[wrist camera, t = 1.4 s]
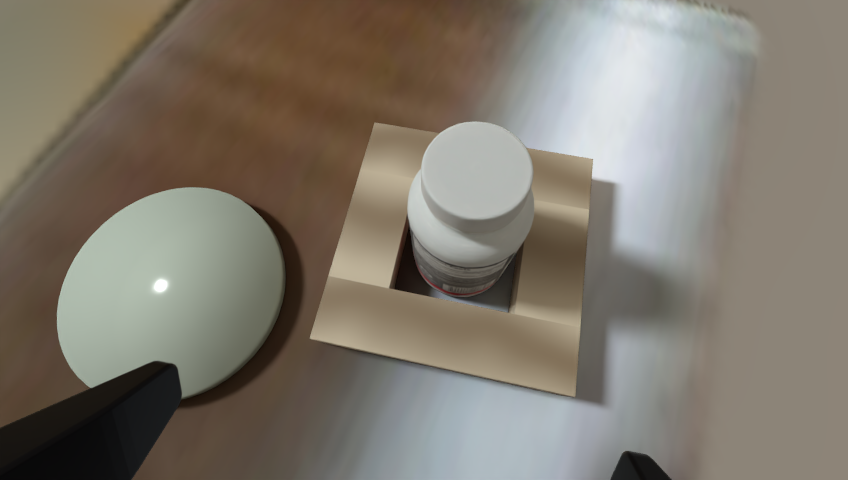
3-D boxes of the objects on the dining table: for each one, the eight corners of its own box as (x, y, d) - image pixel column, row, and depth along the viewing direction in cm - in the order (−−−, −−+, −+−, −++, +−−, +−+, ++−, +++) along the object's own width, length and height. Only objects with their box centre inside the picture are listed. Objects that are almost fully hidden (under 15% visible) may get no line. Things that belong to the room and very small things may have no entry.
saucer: (325, 309, 22) (320, 306, 21) (122, 454, 20) (106, 458, 19) (226, 161, 25) (218, 152, 24) (43, 270, 23) (26, 265, 22)
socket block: (561, 395, 20) (575, 396, 18) (320, 342, 21) (309, 338, 19) (580, 176, 24) (592, 159, 22) (378, 141, 25) (374, 122, 24)
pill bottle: (442, 196, 24) (449, 83, 15) (521, 237, 23) (581, 142, 14) (396, 269, 23) (372, 193, 13) (479, 317, 22) (514, 269, 12)
